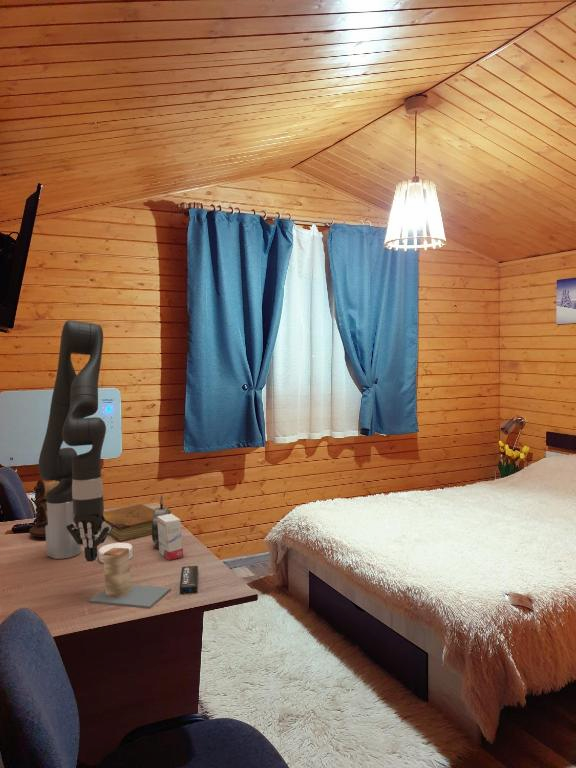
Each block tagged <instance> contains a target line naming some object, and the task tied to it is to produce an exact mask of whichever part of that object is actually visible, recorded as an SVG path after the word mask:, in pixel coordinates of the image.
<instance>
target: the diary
mask: <svg viewBox="0 0 576 768" xmlns="http://www.w3.org/2000/svg"><path fill="white" fill-rule="evenodd" d="M154 510H155V509H153V508H151V507H148V506H147V505H144V504H143V503H140V504H139V503H138V504H136V505H130V506H126V507H120V508H114V509H110V510H104V511H103V516H104V518H105V522H106V523H107V524H108V525H112V526H113V529H112V530H111V532H110V533H109V535H108V537H110V536H111V537H110V538H112V539H113V538H114V539H113V540H115V541H117V543H125V542H127V541H129V542H130V541H131V540H133V541H134V540H136V539H142V538H144V537H149V536H152V519H153V514H154ZM101 528H102V527H101ZM99 531H101V529H100V530H99ZM124 541H125V542H124Z"/></svg>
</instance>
